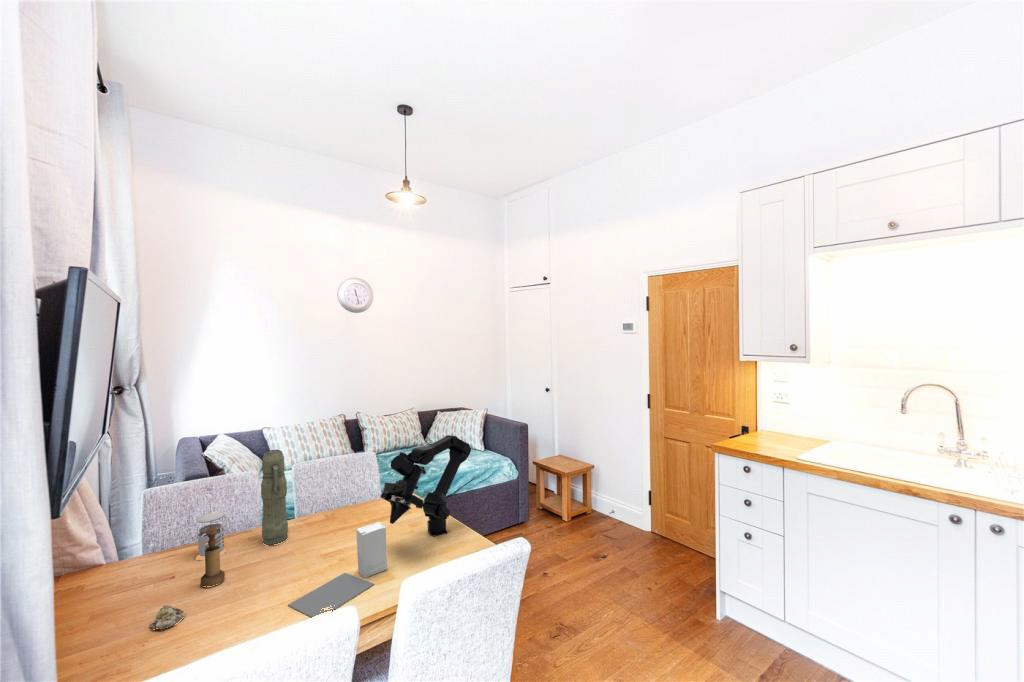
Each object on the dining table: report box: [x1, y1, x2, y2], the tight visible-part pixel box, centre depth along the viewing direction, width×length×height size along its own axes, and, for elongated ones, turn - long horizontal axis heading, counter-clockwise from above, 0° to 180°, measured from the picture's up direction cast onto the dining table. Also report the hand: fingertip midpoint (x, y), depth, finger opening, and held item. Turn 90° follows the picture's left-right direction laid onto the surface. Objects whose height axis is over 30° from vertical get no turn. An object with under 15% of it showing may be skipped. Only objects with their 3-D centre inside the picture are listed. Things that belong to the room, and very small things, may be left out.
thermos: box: [260, 449, 289, 546], centre depth 170 cm, size 9×12×35 cm
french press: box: [196, 485, 231, 556], centre depth 162 cm, size 10×12×25 cm
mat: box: [287, 572, 375, 618], centre depth 133 cm, size 20×14×1 cm
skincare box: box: [355, 521, 388, 579], centre depth 146 cm, size 8×6×15 cm
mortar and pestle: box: [200, 526, 226, 587], centre depth 141 cm, size 7×6×18 cm
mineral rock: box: [148, 604, 187, 630], centre depth 123 cm, size 11×4×8 cm
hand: (391, 523), depth 154 cm, fingers closed
